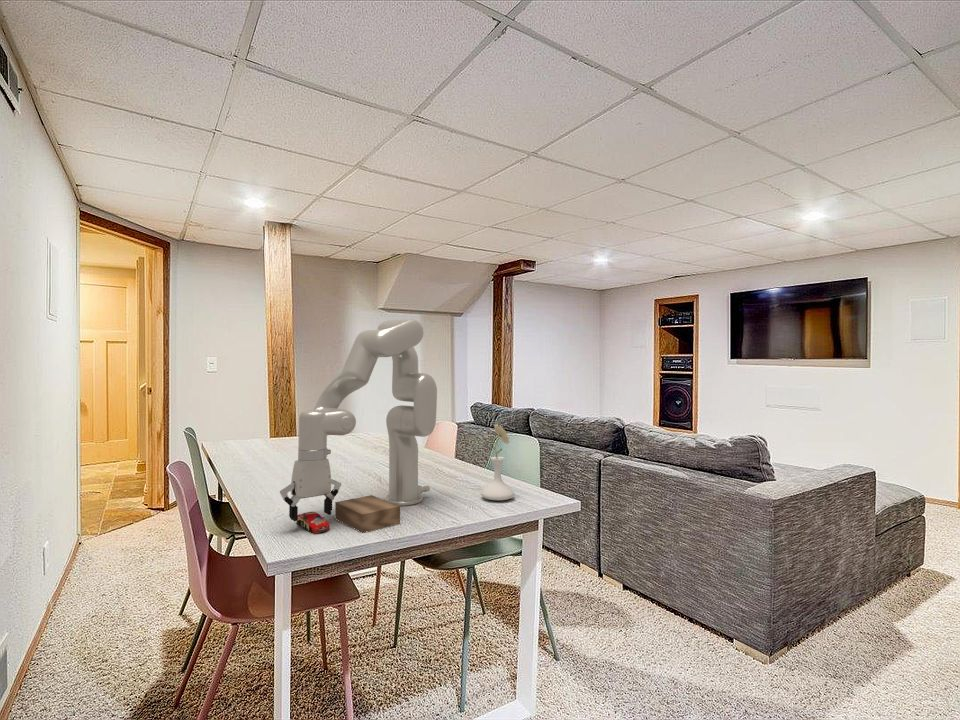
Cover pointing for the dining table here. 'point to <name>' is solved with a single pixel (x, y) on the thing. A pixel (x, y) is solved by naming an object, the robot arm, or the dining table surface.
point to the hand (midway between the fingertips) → (311, 516)
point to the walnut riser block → (367, 513)
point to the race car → (313, 522)
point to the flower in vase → (498, 474)
